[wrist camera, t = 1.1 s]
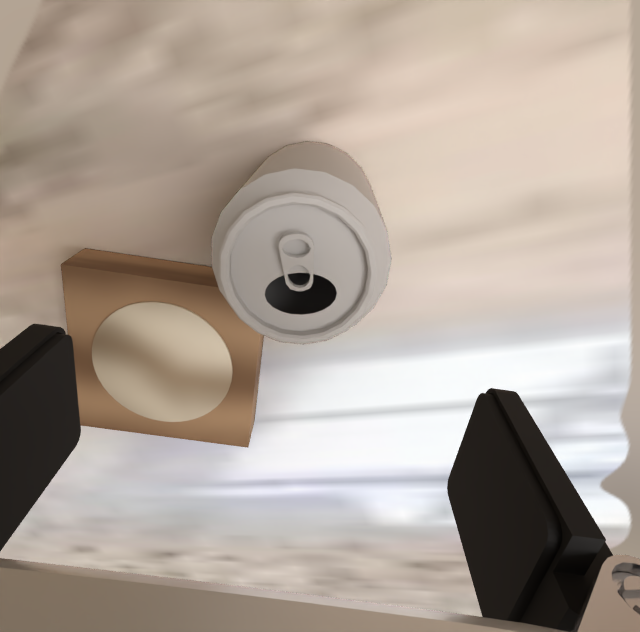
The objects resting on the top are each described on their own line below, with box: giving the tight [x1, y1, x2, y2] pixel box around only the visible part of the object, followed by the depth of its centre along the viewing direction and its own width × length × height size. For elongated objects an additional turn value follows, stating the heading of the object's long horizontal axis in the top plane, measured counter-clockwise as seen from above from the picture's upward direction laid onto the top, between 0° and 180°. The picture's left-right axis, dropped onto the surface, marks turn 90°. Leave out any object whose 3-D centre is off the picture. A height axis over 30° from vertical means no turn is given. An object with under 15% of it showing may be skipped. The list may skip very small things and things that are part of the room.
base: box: [61, 248, 264, 447], centre depth 32 cm, size 12×12×3 cm
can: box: [211, 141, 392, 345], centre depth 23 cm, size 8×8×12 cm
